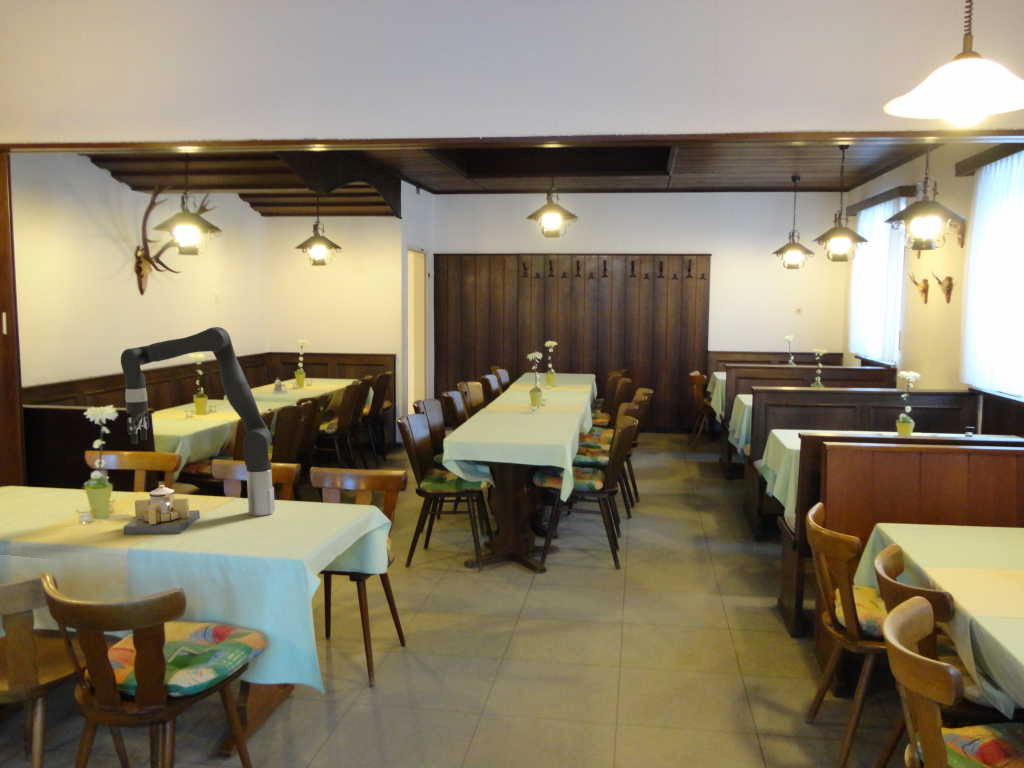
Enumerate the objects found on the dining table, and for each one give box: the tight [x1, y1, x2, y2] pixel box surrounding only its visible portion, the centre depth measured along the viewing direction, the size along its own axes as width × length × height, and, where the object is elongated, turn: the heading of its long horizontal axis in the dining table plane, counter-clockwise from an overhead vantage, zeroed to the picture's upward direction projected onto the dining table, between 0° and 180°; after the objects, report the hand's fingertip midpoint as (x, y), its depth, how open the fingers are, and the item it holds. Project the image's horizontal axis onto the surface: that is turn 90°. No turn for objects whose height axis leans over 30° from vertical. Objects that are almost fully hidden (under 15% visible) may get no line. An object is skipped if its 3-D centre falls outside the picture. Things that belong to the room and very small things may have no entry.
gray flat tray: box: [123, 500, 201, 536], centre depth 296 cm, size 20×20×9 cm
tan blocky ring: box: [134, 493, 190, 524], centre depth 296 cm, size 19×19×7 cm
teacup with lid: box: [148, 484, 175, 504], centre depth 313 cm, size 12×9×12 cm
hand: (139, 441), depth 307 cm, fingers open, 8 cm apart
